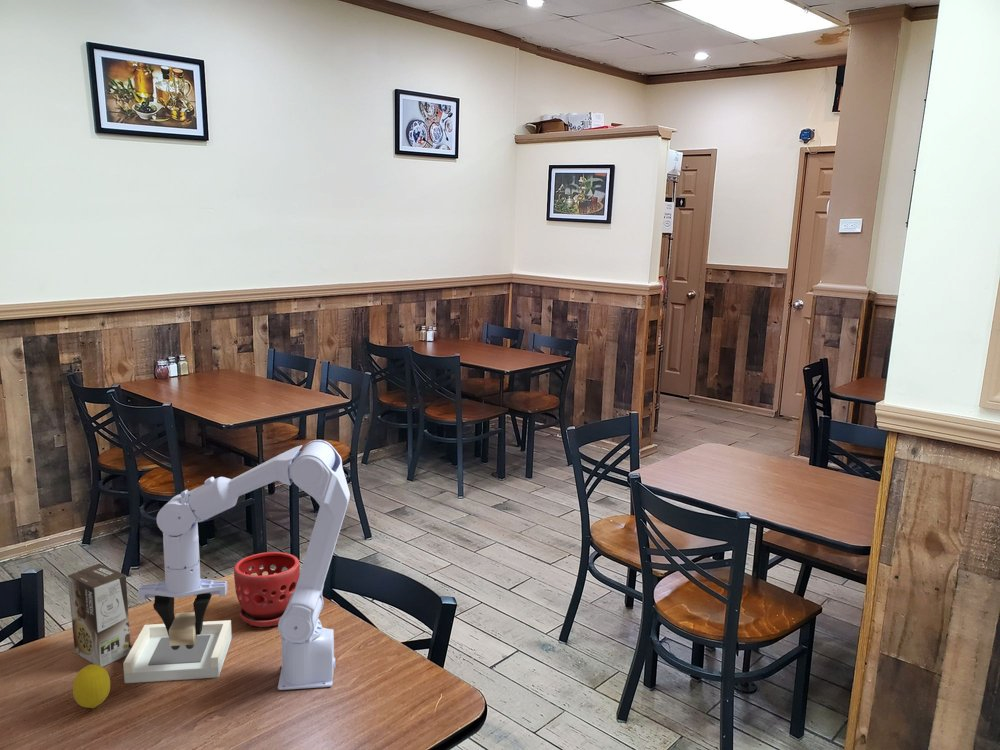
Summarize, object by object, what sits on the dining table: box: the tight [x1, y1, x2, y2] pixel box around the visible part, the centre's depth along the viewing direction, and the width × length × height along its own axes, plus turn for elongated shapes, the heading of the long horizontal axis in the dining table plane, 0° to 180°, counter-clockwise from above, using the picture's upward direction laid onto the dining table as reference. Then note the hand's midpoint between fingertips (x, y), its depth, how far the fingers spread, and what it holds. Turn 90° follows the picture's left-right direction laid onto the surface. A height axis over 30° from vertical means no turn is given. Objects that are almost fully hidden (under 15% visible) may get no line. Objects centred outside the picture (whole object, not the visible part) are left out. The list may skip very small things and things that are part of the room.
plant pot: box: [233, 551, 301, 627], centre depth 156 cm, size 13×13×12 cm
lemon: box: [72, 663, 111, 709], centre depth 125 cm, size 6×6×8 cm
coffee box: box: [67, 563, 132, 668], centre depth 140 cm, size 9×6×16 cm
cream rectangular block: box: [169, 611, 197, 650], centre depth 133 cm, size 4×6×4 cm, turn 10°
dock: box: [122, 619, 233, 684], centre depth 140 cm, size 16×13×4 cm
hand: (185, 632), depth 134 cm, fingers closed on cream rectangular block, 4 cm apart
